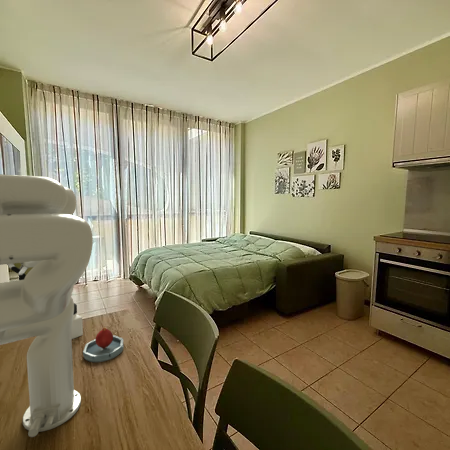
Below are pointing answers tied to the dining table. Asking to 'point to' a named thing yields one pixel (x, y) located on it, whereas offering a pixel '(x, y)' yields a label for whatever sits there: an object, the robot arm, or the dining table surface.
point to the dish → (103, 350)
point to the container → (76, 324)
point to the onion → (104, 338)
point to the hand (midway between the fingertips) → (42, 282)
